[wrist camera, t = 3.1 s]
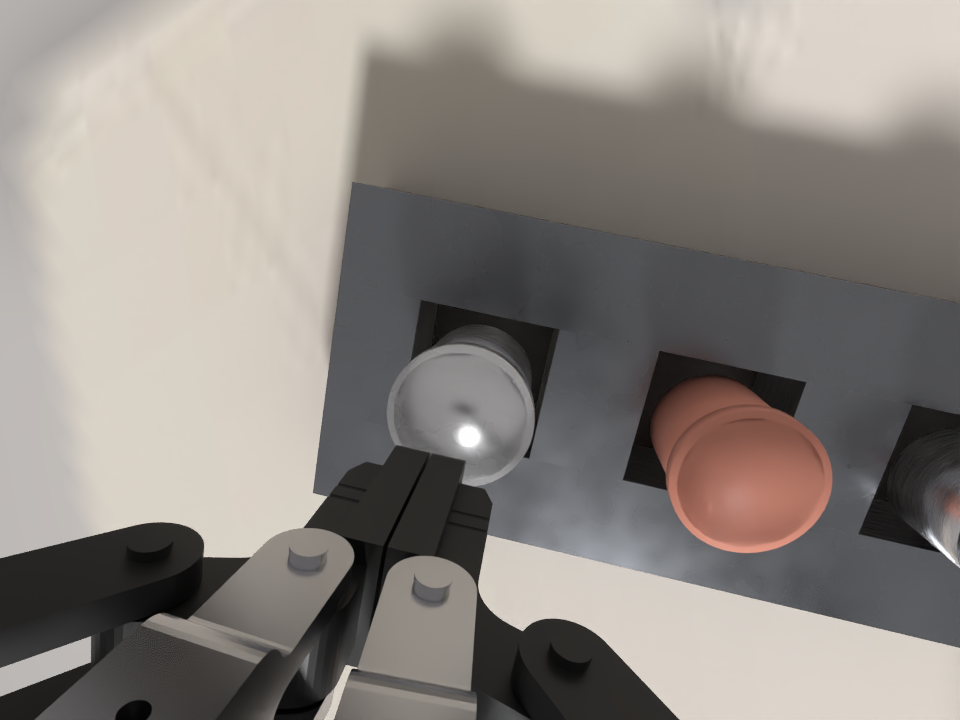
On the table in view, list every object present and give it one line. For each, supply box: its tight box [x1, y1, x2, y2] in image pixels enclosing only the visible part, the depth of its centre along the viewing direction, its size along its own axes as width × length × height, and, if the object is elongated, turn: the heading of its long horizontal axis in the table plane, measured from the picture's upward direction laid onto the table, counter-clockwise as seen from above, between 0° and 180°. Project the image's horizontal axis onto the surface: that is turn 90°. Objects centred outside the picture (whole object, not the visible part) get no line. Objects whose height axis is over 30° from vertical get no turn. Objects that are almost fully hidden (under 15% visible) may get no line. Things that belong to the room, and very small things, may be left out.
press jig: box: [313, 182, 960, 648], centre depth 22 cm, size 12×28×4 cm, turn 79°
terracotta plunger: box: [650, 375, 832, 553], centre depth 18 cm, size 4×4×4 cm
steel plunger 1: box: [387, 324, 535, 487], centre depth 19 cm, size 4×4×4 cm
